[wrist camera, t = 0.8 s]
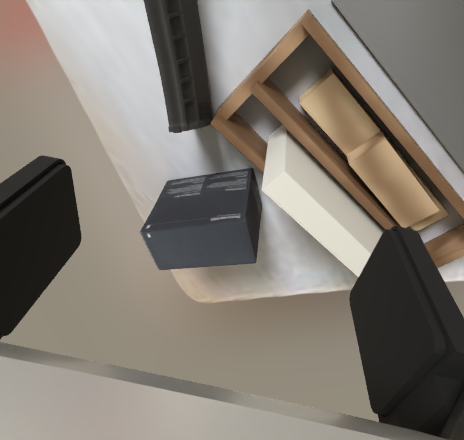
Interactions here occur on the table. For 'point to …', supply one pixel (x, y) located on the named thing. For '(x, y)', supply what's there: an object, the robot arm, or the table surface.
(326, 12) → the table surface
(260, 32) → the table surface
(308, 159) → the cream rectangular panel
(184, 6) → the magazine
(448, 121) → the mat
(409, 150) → the rack
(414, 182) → the offcut short
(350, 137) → the offcut long
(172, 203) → the small box
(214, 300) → the table surface
